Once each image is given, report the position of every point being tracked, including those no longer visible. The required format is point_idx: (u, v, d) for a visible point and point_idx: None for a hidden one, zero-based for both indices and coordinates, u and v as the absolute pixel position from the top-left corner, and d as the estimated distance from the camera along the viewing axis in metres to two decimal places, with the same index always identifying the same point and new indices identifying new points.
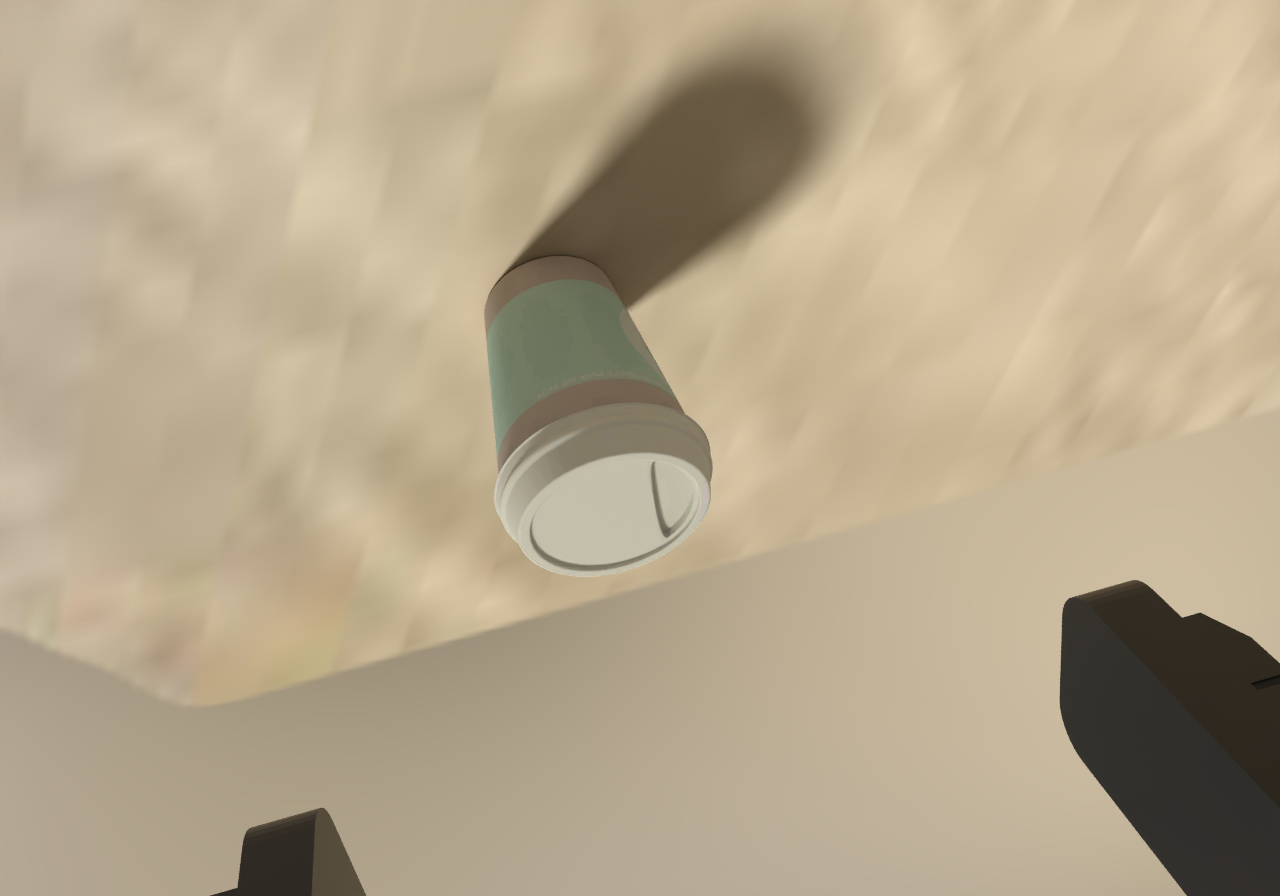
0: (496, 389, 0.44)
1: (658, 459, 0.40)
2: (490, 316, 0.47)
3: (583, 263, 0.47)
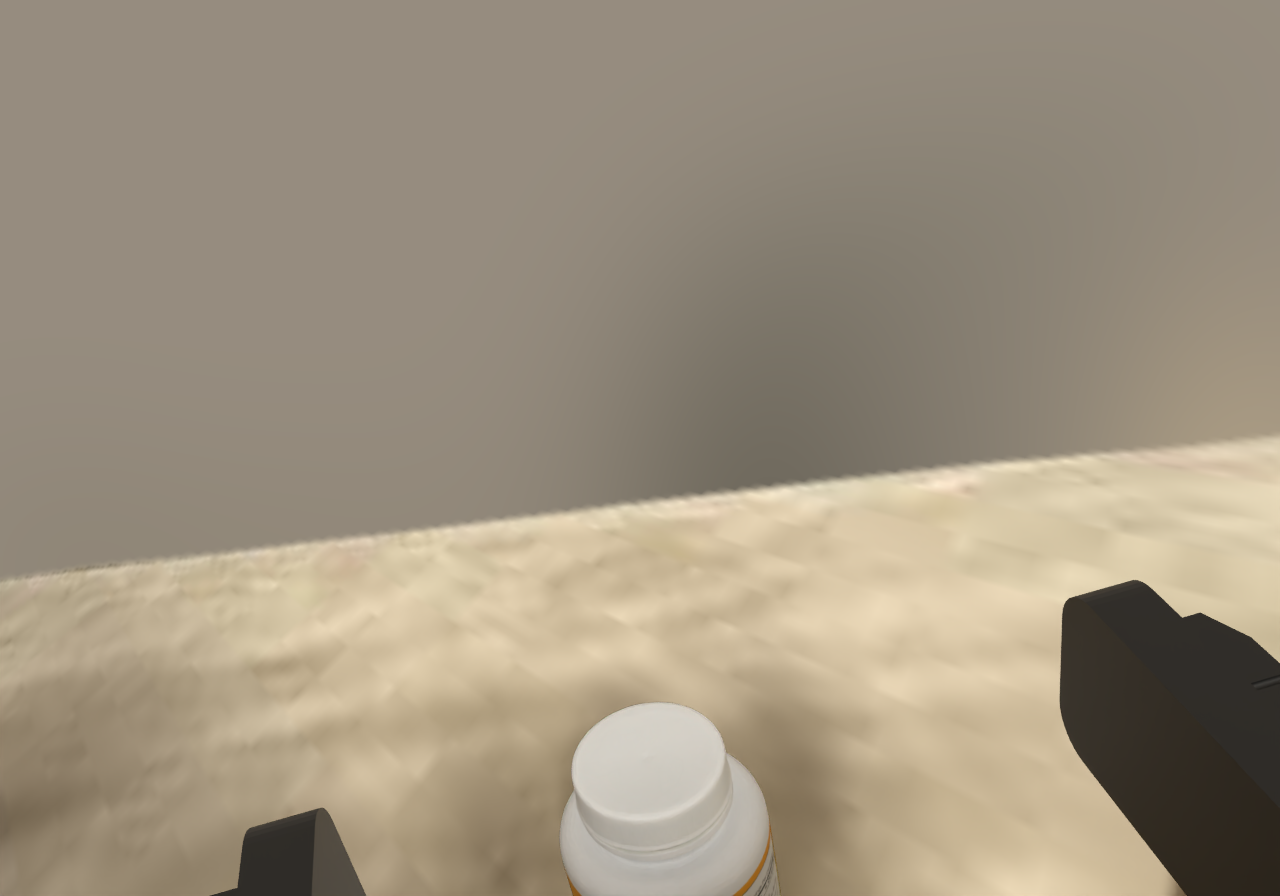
0: None
1: None
2: None
3: None
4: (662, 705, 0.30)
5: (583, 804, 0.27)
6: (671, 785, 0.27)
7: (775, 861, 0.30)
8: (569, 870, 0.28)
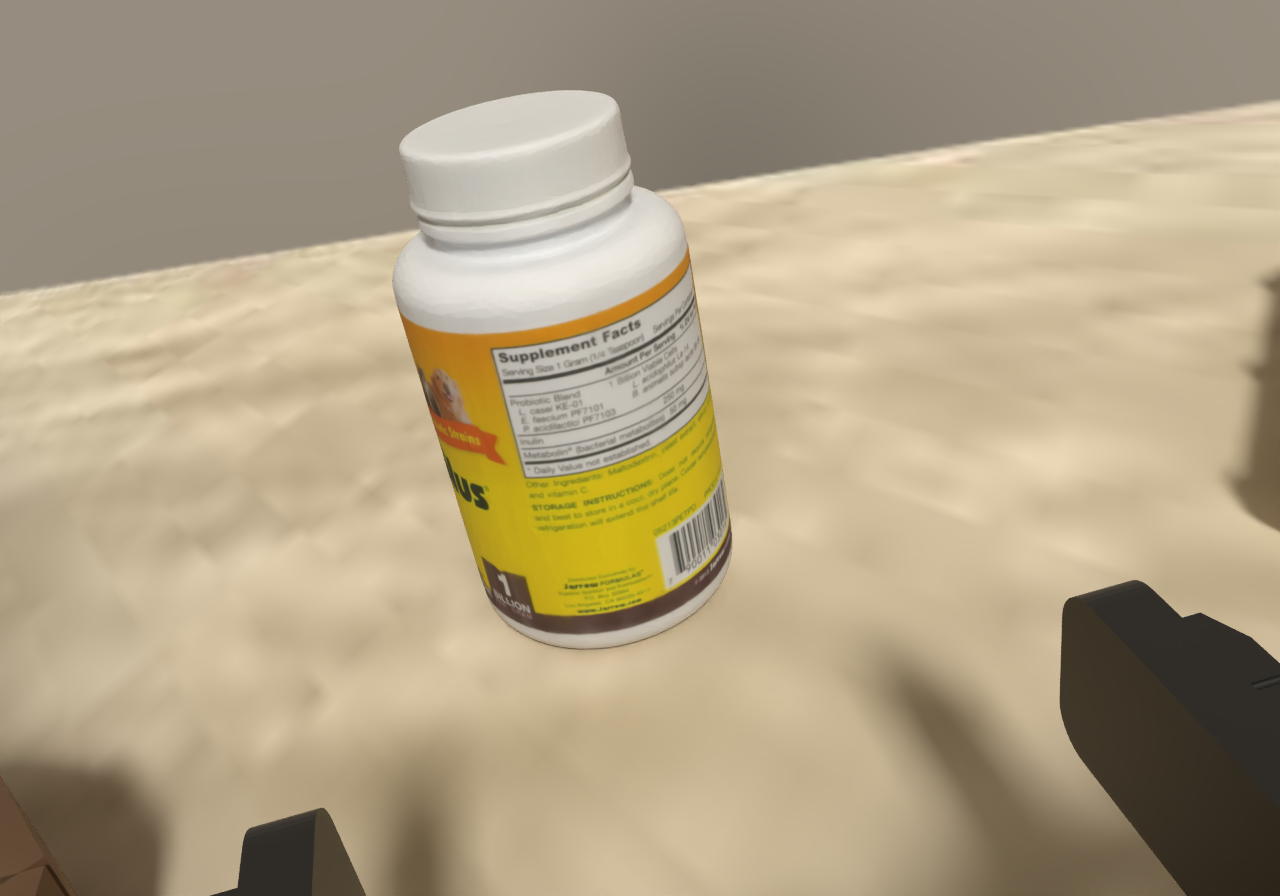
0: None
1: None
2: None
3: None
4: (538, 93, 0.21)
5: (410, 167, 0.19)
6: (536, 130, 0.19)
7: (699, 324, 0.22)
8: (399, 293, 0.20)
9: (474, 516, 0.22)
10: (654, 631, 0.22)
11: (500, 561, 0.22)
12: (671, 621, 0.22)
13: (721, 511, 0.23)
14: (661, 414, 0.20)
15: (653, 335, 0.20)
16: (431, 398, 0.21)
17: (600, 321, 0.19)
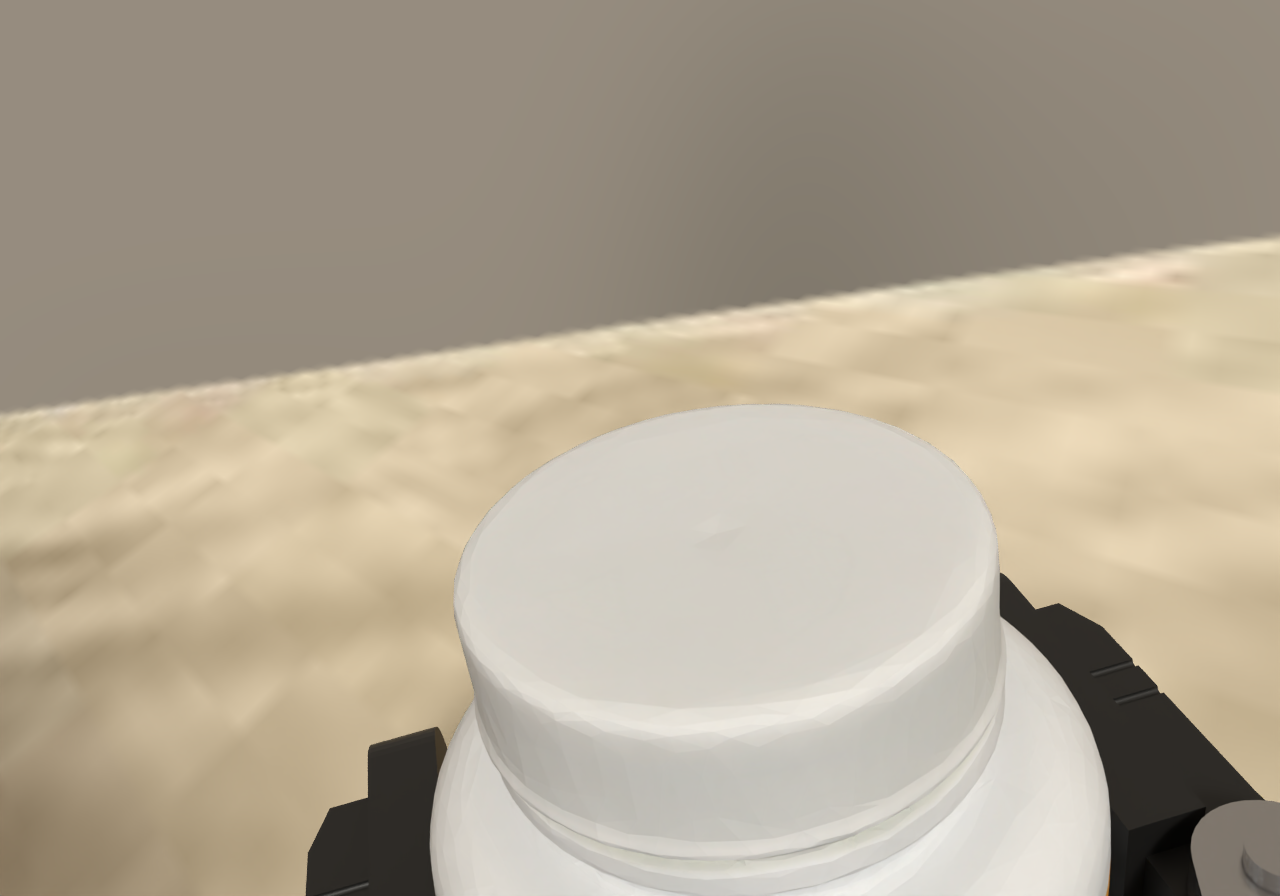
0: None
1: None
2: None
3: None
4: (752, 409, 0.10)
5: (487, 687, 0.07)
6: (817, 609, 0.07)
7: None
8: None
9: None
10: None
11: None
12: None
13: None
14: None
15: None
16: None
17: None
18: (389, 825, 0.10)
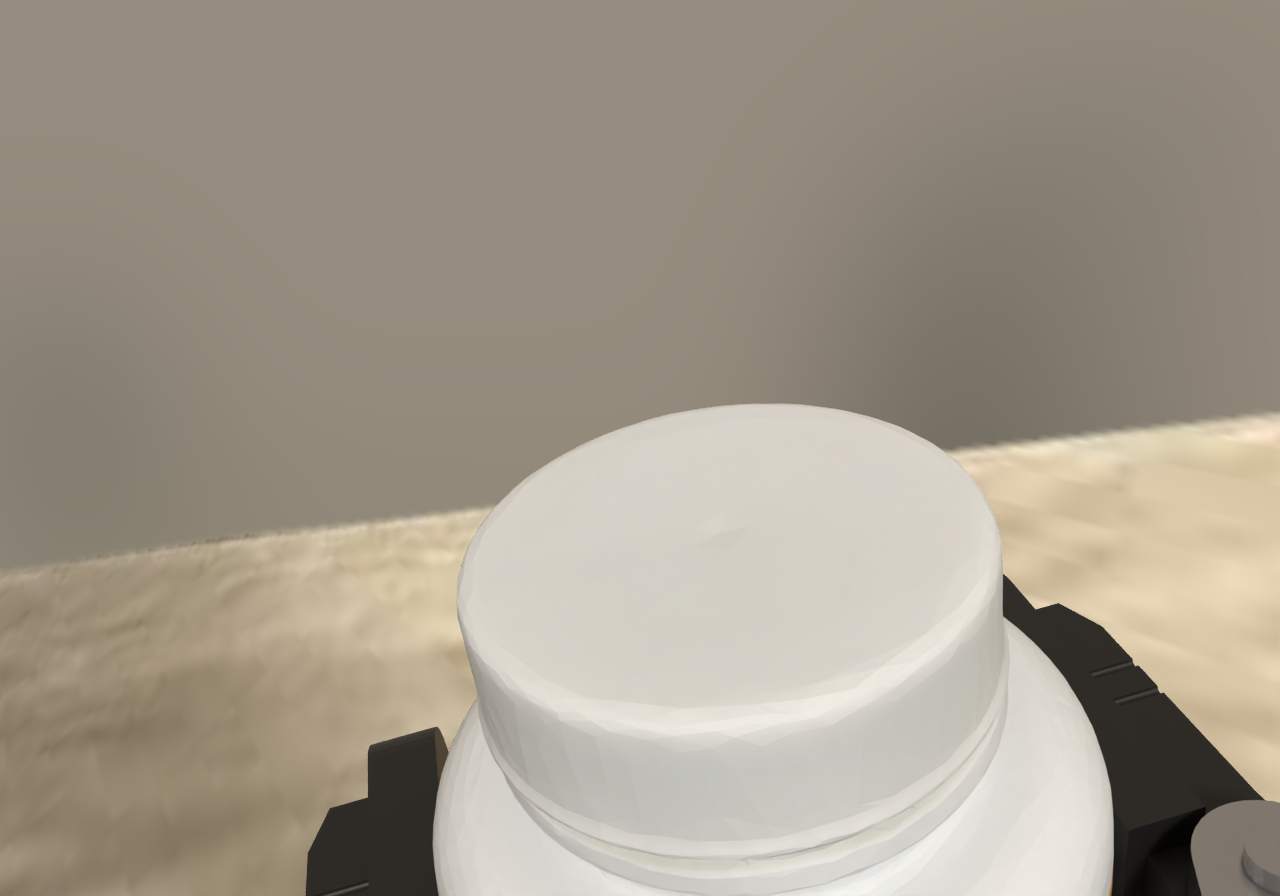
0: None
1: None
2: None
3: None
4: (754, 408, 0.10)
5: (490, 686, 0.07)
6: (820, 608, 0.07)
7: None
8: None
9: None
10: None
11: None
12: None
13: None
14: None
15: None
16: None
17: None
18: (390, 825, 0.10)
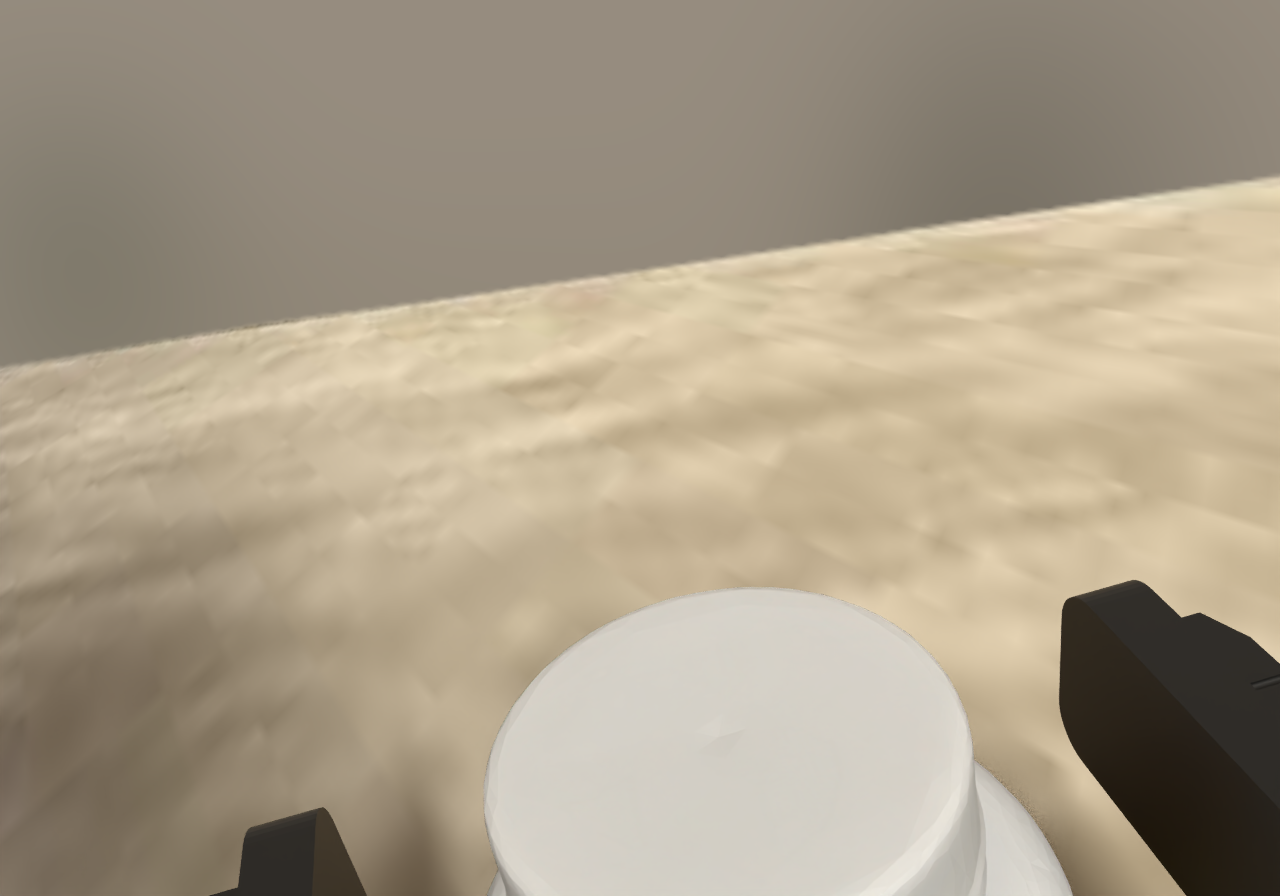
0: None
1: None
2: None
3: None
4: (749, 594, 0.10)
5: None
6: (809, 824, 0.08)
7: None
8: None
9: None
10: None
11: None
12: None
13: None
14: None
15: None
16: None
17: None
18: None
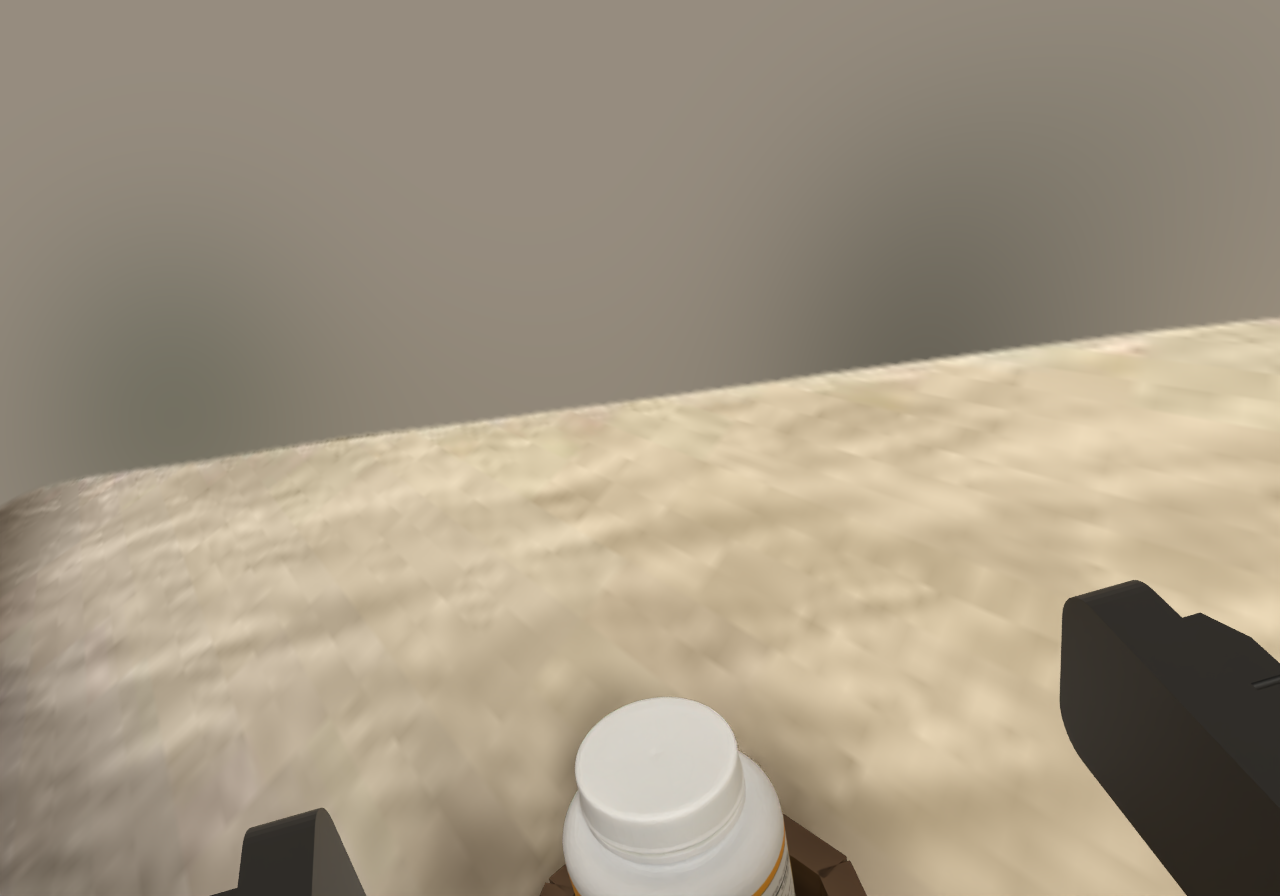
0: None
1: None
2: None
3: None
4: (667, 700, 0.28)
5: (589, 806, 0.26)
6: (682, 782, 0.26)
7: (789, 860, 0.29)
8: (575, 878, 0.27)
9: None
10: None
11: None
12: None
13: None
14: None
15: None
16: None
17: None
18: None
